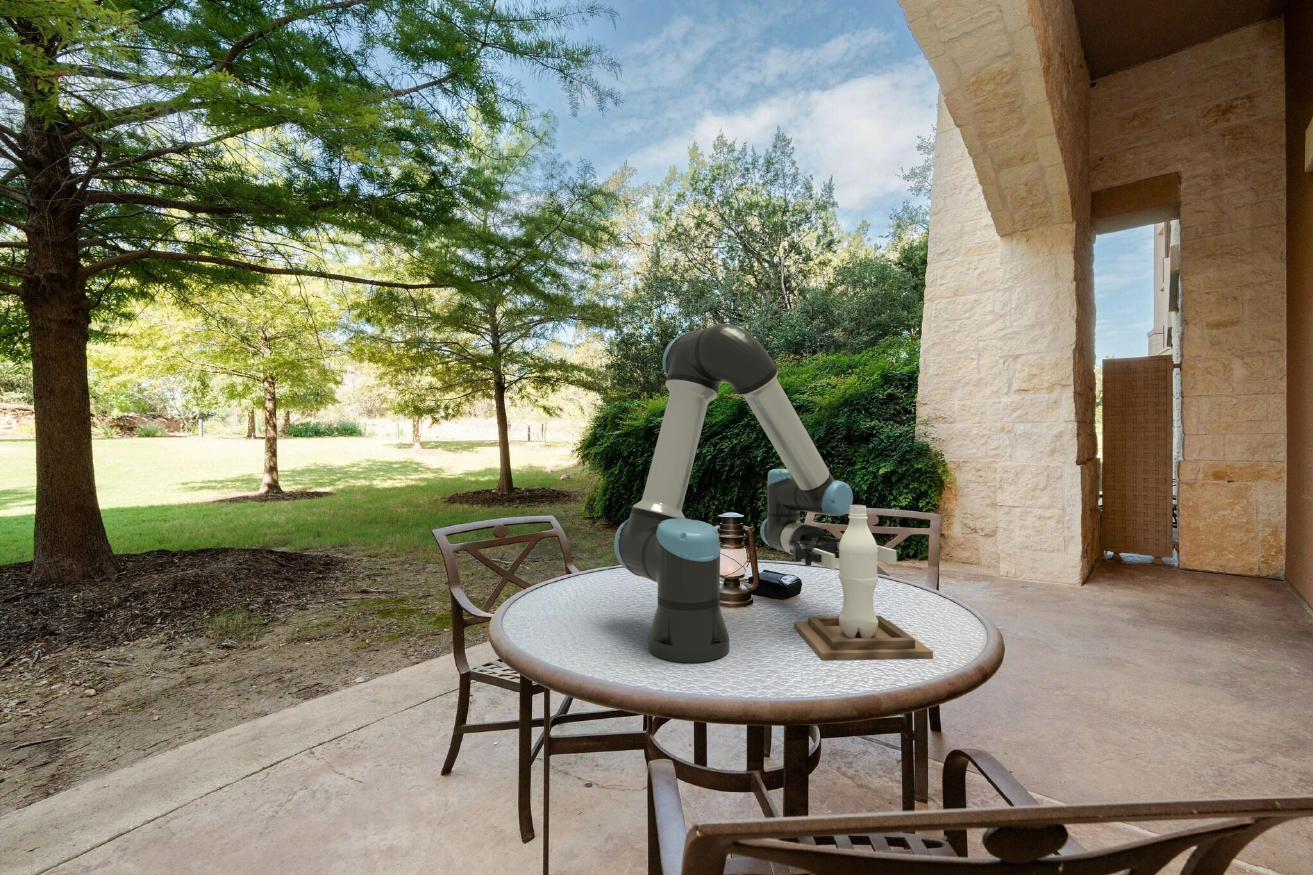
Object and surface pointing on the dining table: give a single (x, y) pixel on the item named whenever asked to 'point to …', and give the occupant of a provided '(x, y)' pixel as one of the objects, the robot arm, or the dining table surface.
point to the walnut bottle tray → (859, 641)
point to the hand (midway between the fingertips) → (864, 559)
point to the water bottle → (858, 576)
